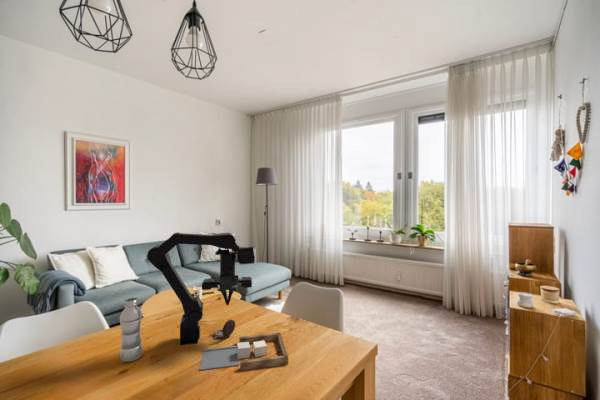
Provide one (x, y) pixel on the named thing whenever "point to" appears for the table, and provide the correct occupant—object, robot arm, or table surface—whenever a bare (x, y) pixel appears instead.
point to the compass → (225, 330)
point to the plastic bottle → (131, 331)
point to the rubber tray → (219, 358)
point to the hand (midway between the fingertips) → (227, 304)
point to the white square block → (259, 348)
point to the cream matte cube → (243, 350)
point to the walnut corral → (264, 361)
